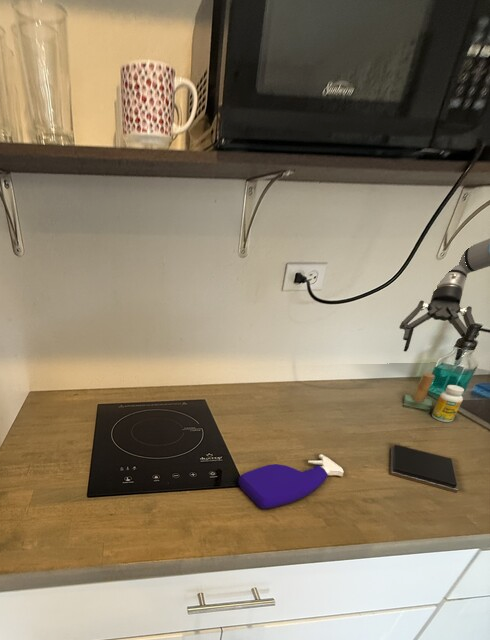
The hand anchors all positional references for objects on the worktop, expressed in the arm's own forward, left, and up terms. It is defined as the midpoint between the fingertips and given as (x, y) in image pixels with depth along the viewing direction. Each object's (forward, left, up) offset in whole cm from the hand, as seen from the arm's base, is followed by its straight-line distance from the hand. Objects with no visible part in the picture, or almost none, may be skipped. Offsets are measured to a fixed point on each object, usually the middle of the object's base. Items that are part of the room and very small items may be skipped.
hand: (431, 353), depth 116 cm
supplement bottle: (-7, +12, -14) cm, 20 cm away
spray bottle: (+25, +63, -14) cm, 69 cm away
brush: (0, +8, -14) cm, 16 cm away
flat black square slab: (0, +43, -14) cm, 46 cm away
